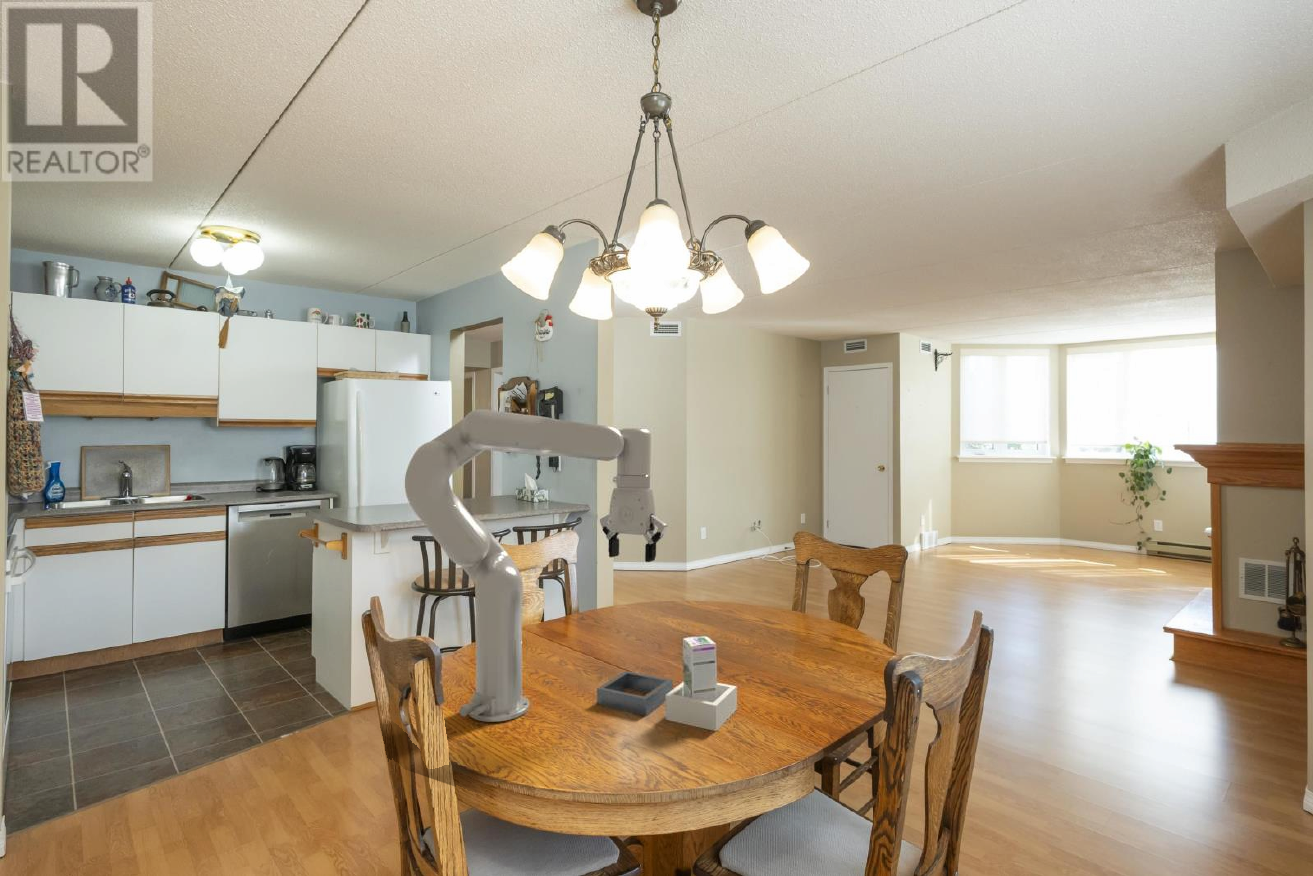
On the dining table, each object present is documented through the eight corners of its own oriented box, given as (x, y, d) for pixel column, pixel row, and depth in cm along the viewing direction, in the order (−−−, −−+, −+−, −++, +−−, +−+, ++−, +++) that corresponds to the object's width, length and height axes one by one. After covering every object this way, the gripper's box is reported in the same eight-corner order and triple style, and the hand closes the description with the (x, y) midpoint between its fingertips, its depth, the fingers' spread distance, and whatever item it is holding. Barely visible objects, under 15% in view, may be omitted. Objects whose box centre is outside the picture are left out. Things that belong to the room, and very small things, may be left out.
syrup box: (718, 713, 132) (718, 642, 132) (691, 717, 131) (691, 645, 131) (708, 702, 138) (708, 634, 138) (682, 706, 136) (682, 637, 136)
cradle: (716, 731, 126) (716, 705, 126) (665, 719, 132) (665, 695, 132) (736, 710, 136) (736, 686, 136) (689, 700, 142) (689, 677, 142)
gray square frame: (646, 716, 133) (646, 699, 133) (596, 705, 139) (596, 688, 139) (672, 695, 144) (672, 680, 144) (625, 686, 150) (625, 670, 150)
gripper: (592, 481, 147) (590, 557, 146) (658, 485, 138) (656, 565, 138) (611, 480, 153) (609, 552, 153) (674, 484, 144) (673, 560, 144)
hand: (631, 558), depth 145 cm, fingers open, 9 cm apart
